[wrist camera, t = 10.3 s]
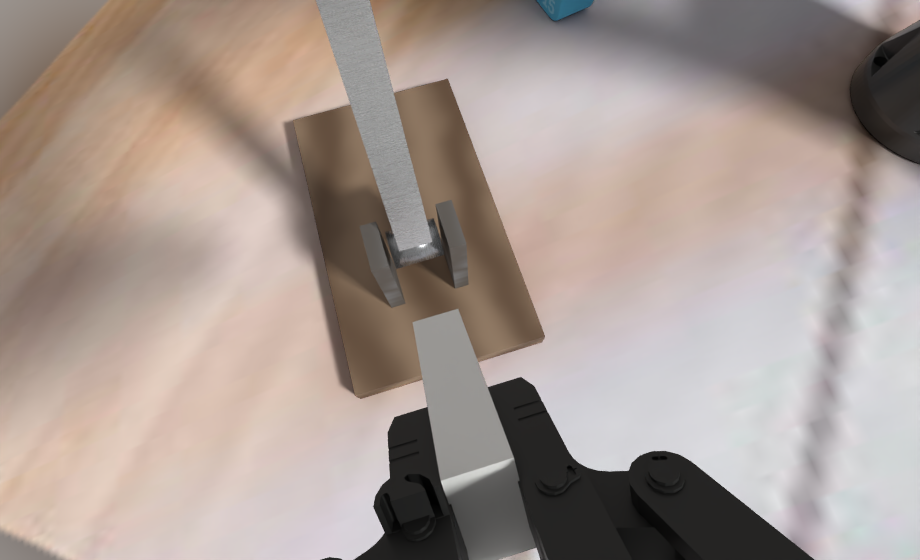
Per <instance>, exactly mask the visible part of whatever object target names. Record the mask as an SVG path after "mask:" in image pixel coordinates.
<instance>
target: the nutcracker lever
mask: <svg viewBox="0 0 920 560" xmlns="http://www.w3.org/2000/svg"><path fill="white" fill-rule="evenodd" d="M316 2H317V5H318V8H319V11H320V14H321V17H322V20H323V23H324V26H325V29H326V32H327V35H328V38H329V41H330V44H331V47H332V50H333V53H334V56H335V59H336V62H337V65H338V68H339V71H340V74H341V77H342V80H343V83H344V86H345V89H346V92H347V95H348V98H349V101H350V104H351V107H352V110H353V113H354V116H355V119H356V122H357V125H358V128H359V131H360V134H361V137H362V140H363V143H364V146H365V150H366V153H367V156H368V159H369V162H370V165H371V168H372V171H373V174H374V177H375V180H376V183H377V186H378V189H379V192H380V195H381V198H382V201H383V204H384V207H385V210H386V213H387V216H388V219H389V222H390V225H391V228H392V230H390V231H386V232H385V234H386V238H387V242H388V245H389V249H390V252H391V255H392V258H393V261H394V264H395V267H396V269H398V268H402V267H405V266H408V265H412V264H415V263H418V262H422V261H425V260H429V259H432V258H435V257H439V256H442V255H444V251H443V247H442V243H441V239H440V236H439V232H438V229H437V226H436V223H435V221H434V218H431V219H428V220H427V219H426V215H425V212H424V208H423V204H422V200H421V196H420V192H419V188H418V185H417V181H416V177H415V173H414V169H413V165H412V162H411V158H410V154H409V150H408V146H407V142H406V138H405V135H404V131H403V127H402V123H401V119H400V115H399V111H398V108H397V104H396V100H395V96H394V92H393V88H392V85H391V81H390V77H389V73H388V69H387V65H386V61H385V58H384V54H383V50H382V46H381V42H380V38H379V35H378V31H377V27H376V23H375V19H374V15H373V11H372V8H371V4H370V0H316Z"/></svg>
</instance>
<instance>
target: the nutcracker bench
mask: <svg viewBox="0 0 920 560" xmlns="http://www.w3.org/2000/svg"><path fill="white" fill-rule="evenodd" d="M394 96H395V100H396V104H397V108H398V111H399V115H400V119H401V123H402V127H403V131H404V135H405V138H406V142H407V146H408V150H409V154H410V158H411V162H412V165H413V169H414V173H415V177H416V181H417V185H418V188H419V192H420V196H421V200H422V204H423V208H424V212H425V215H426V219H427V220H428V219H431V218H434V221H435V223H436V226H437V229H438V232H439V236H440V239H441V243H442V247H443V251H444V255H442V256H439V257H435V258H432V259H429V260H425V261H422V262H418V263H415V264H412V265H408V266H405V267H402V268H398V269H396V267H395V264H394V261H393V258H392V255H391V252H390V249H389V245H388V242H387V238H386V234H385V232H386V231H390V230H392V228H391V225H390V222H389V219H388V216H387V213H386V210H385V207H384V204H383V201H382V198H381V195H380V192H379V189H378V186H377V183H376V180H375V177H374V174H373V171H372V168H371V165H370V162H369V159H368V156H367V153H366V150H365V146H364V143H363V140H362V137H361V134H360V131H359V128H358V125H357V122H356V119H355V116H354V113H353V110H352V107H351V105H348V106H345V107H341V108H337V109H333V110H330V111H326V112H322V113H319V114H315V115H311V116H307V117H304V118H300V119H296V120H293V123H294V127H295V132H296V136H297V140H298V145H299V149H300V154H301V158H302V163H303V167H304V171H305V176H306V180H307V185H308V189H309V194H310V198H311V203H312V207H313V211H314V216H315V220H316V225H317V229H318V234H319V238H320V242H321V247H322V251H323V256H324V260H325V265H326V269H327V273H328V278H329V282H330V287H331V291H332V296H333V300H334V305H335V309H336V313H337V318H338V322H339V327H340V331H341V336H342V340H343V344H344V349H345V353H346V358H347V362H348V367H349V371H350V376H351V380H352V384H353V389H354V393H355V396H356V397H358V398H360V399H362V398H365V397H368V396H371V395H375V394H378V393H381V392H384V391H387V390H391V389H394V388H397V387H400V386H403V385H407V384H410V383H413V382H416V381H419V380H423V378H422V373H421V367H420V361H419V356H418V350H417V344H416V339H415V333H414V327H413V322H415V321H418V320H422V319H425V318H428V317H432V316H435V315H439V314H442V313H445V312H449V311H452V310H456V309H458V310H459V313H460V315H461V318H462V321H463V323H464V326H465V329H466V331H467V334H468V337H469V339H470V342H471V345H472V347H473V350H474V353H475V355H476V358H477V361H478V362H480V361H483V360H486V359H490V358H493V357H496V356H499V355H502V354H506V353H509V352H512V351H515V350H518V349H522V348H525V347H528V346H531V345H534V344H538V343H541V342H542V341H543V339H544V337H545V335H544V333H543V330H542V327H541V325H540V322H539V319H538V317H537V314H536V311H535V309H534V306H533V303H532V301H531V298H530V295H529V293H528V290H527V288H526V285H525V282H524V280H523V277H522V274H521V272H520V269H519V266H518V264H517V261H516V258H515V256H514V253H513V250H512V248H511V245H510V242H509V240H508V237H507V235H506V232H505V229H504V227H503V224H502V221H501V219H500V216H499V213H498V211H497V208H496V205H495V203H494V200H493V197H492V195H491V192H490V189H489V187H488V184H487V182H486V179H485V176H484V174H483V171H482V168H481V166H480V163H479V160H478V158H477V155H476V152H475V150H474V147H473V144H472V142H471V139H470V137H469V134H468V131H467V129H466V126H465V123H464V121H463V118H462V115H461V113H460V110H459V107H458V105H457V102H456V99H455V97H454V94H453V91H452V89H451V86H450V84H449V81H448V79H445V80H441V81H438V82H434V83H430V84H426V85H423V86H419V87H415V88H411V89H408V90H404V91H400V92H397V93H394Z"/></svg>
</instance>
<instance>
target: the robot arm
mask: <svg viewBox="0 0 920 560" xmlns="http://www.w3.org/2000/svg"><path fill="white" fill-rule="evenodd" d="M850 92H851V100H852V104H853V107H854V109H855V112H856V114H857V116H858V117H859V119H860V121H861V122H862V124H863V125H864V126H865V128H866V129H867V130H868V131H869V132H870V133H871V134H872V135H873V136H874V137H875V138H876V139H877V140H878V141H879V142H881V143H882V144H883V145H885V146H886V147H887V148H889V149H890V150H892V151H894V152H895V153H897V154H899V155H901V156H903V157H905V158H907V159H909V160H912V161H914V162H917V163H920V20H919V21H917V22H915V23H914V24H912V25H910V26H908V27H907V28H905V29H903V30H902V31H900V32H898V33H897V34H895V35H893V36H891V37H890V38H888V39H886V40H885V41H884V42H882V43H881V44H880V45H879V46H877V47H876V48H875V49H874V50H873V51H872V52H871V53H870V54H869V55H868V56H867V57H866V59H865V60H864V61H863V62H862V63H861V64H860V65H859V66H858V68H857V69H856V71H855V73H854V75H853V77H852V81H851V88H850ZM413 327H414V333H415V339H416V344H417V350H418V356H419V361H420V367H421V373H422V378H423V384H424V390H425V395H426V401H427V407H426V408H423V409H420V410H416V411H413V412H410V413H407V414H403V415H400V416H397V417H394V420H393V422H392V424H391V426H390V429H389V431H388V448H389V462H390V464H389V467H390V479H389V480H388V481H386V482H385V483H384V484H383V485H382V486H381V488H380V490H379V491H378V493H377V494H376V496H375V501H374V506H373V507H374V509H375V512H376V514H377V516H378V518H379V521H380V523H381V525H382V527H383V529H384V532H385V533H384V535H383V536H382V537H381V539H380V540H379V541H378V542H377V543H376V544H375V545H374V546H373V547H371V548H370V549H369V550H368V551H366V552H365V553H363V554H362V555H360V556H359V557H357V558H356V559H354V560H500V559H503V558H506V557H509V556H512V555H515V554H518V553H521V552H524V551H527V550H530V549H533V548H536V547H537V550H538V553H539V556H540V560H814V559H813V558H812V557H810V556H809V555H808V554H807V553H805V552H804V551H803V550H802V549H800V548H799V547H798V546H797V545H795V544H794V543H793V542H792V541H790V540H789V539H788V538H786V537H785V536H784V535H783V534H781V533H780V532H779V531H778V530H776V529H775V528H774V527H773V526H771V525H770V524H769V523H768V522H766V521H765V520H764V519H763V518H761V517H760V516H759V515H758V514H756V513H755V512H754V511H753V510H751V509H750V508H749V507H748V506H746V505H745V504H744V503H743V502H741V501H740V500H739V499H738V498H736V497H735V496H734V495H732V494H731V493H730V492H729V491H727V490H726V489H725V488H724V487H722V486H721V485H720V484H719V483H717V482H716V481H715V480H714V479H712V478H711V477H710V476H709V475H707V474H706V473H705V472H704V471H702V470H701V469H700V468H699V467H697V466H696V465H695V464H694V463H692V462H691V461H689V460H688V459H686V458H684V457H682V456H681V455H679V454H675V453H671V452H667V451H652V452H649V453H646V454H643V455H641V456H639V457H638V458H637V459H636V460H635V461H634V462H632V464H631V466H630V469H629V471H612V472H608V471H597V470H593V469H589V468H587V467H585V466H583V465H581V464H579V463H578V462H577V461H576V460H574V459H573V457H572V456H571V455H570V453H569V452H568V450H567V448H566V446H565V444H564V442H563V440H562V438H561V436H560V435H559V433H558V431H557V429H556V427H555V425H554V423H553V421H552V419H551V417H550V415H549V413H548V412H547V410H546V408H545V406H544V404H543V402H542V401H541V398H540V396H539V394H538V392H537V391H536V389H535V387H534V386H533V385H532V384H530V383H529V382H527V381H526V380H524V379H523V378H522V377H520V378H516V379H513V380H510V381H507V382H503V383H500V384H497V385H494V386H490V387H487V385H486V382H485V379H484V377H483V374H482V371H481V369H480V366H479V363H478V361H477V358H476V355H475V353H474V350H473V347H472V345H471V342H470V339H469V337H468V334H467V331H466V329H465V326H464V323H463V321H462V318H461V315H460V313H459V310H458V309H456V310H452V311H449V312H445V313H442V314H439V315H435V316H432V317H428V318H425V319H422V320H418V321H415V322H413ZM322 560H342V559H340V558H331V557H329V558H325V559H322Z"/></svg>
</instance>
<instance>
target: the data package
mask: <svg viewBox="0 0 920 560" xmlns="http://www.w3.org/2000/svg"><path fill="white" fill-rule="evenodd" d="M536 1H537V2H538V3H539V4H540V6H541V7H542V8H543V9H544V11H545V12H546V13H547V14H548V16H549V17H550V18H551V19H552V20H554V21H557V20H560V19H562V18H564V17H567V16H569V15H571V14H573V13H576V12H578V11H580V10H583V9H585V8H587V7H589V6H591V5H592V3H593V1H594V0H536Z"/></svg>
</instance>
